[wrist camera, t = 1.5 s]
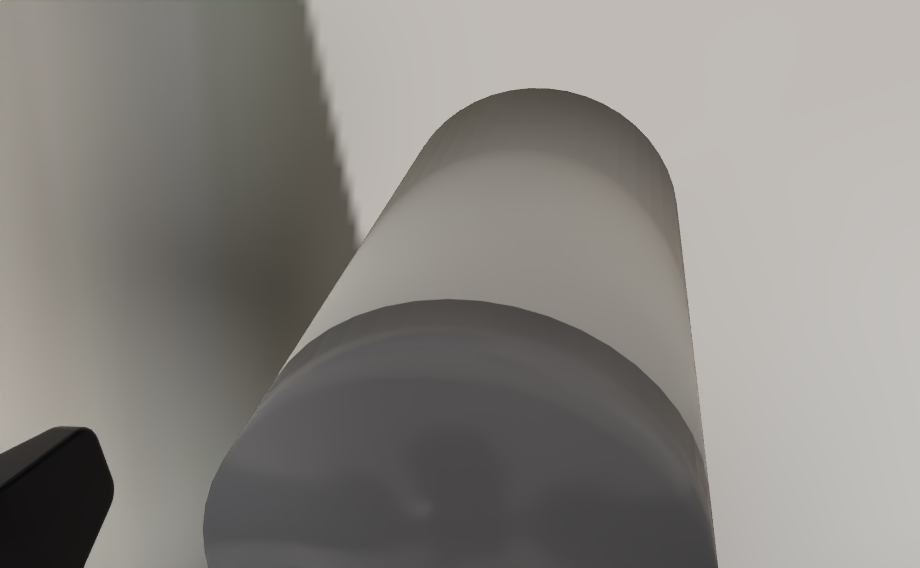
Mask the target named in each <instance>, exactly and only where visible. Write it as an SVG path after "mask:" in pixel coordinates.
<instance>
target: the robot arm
mask: <svg viewBox="0 0 920 568" xmlns="http://www.w3.org/2000/svg"><path fill="white" fill-rule="evenodd" d="M113 495H114V483H113V479H112V476H111V473H110V471H109V468H108V465H107V462H106V460H105V457H104V454H103V451H102V449H101V446H100V443H99V440H98V438H97V436H96V434H95V433H94V432H93V431H92V430H91V429H89V428H86V427H68V426H60V427H54V428H52V429H49V430H47V431H45V432H43V433H41V434H39V435H37V436H35V437H33V438H31V439H29V440H27V441H25V442H23V443H21V444H19V445H17V446H15V447H13V448H11V449H9V450H7V451H5V452H3V453H1V454H0V568H84V565H85V563H86V561H87V558H88V556H89V554H90V552H91V549H92V547H93V545H94V543H95V540H96V538H97V536H98V533H99V531H100V529H101V527H102V524H103V522H104V520H105V517H106V515H107V513H108V511H109V508H110V506H111V503H112V500H113Z"/></svg>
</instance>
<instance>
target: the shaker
mask: <svg viewBox="0 0 920 568" xmlns="http://www.w3.org/2000/svg"><path fill="white" fill-rule="evenodd" d="M203 534H204V547H205V555H206V559H207V563H208V567H209V568H718V563H717V555H716V546H715V538H714V528H713V519H712V510H711V502H710V494H709V485H708V476H707V467H706V458H705V449H704V440H703V431H702V424H701V414H700V405H699V397H698V387H697V379H696V370H695V361H694V353H693V343H692V335H691V326H690V317H689V309H688V300H687V291H686V282H685V274H684V264H683V256H682V247H681V238H680V230H679V221H678V212H677V203H676V199H675V193H674V188H673V184H672V182H671V179H670V176H669V173H668V170H667V168H666V166H665V165H664V163H663V161H662V159H661V157H660V155H659V153H658V152H657V151H656V149H655V148H654V146H653V145H652V144H651V143H650V141H649V140H648V138H647V137H646V136H645V135H644V134H643V133H642V132H641V131H640V130H639V129H638V128H637V127H636V126H635V125H634V124H633V123H631V122H630V121H629V120H627V119H626V118H625V117H623V116H622V115H621V114H620V113H618V112H616V111H615V110H613V109H611V108H610V107H608V106H606V105H604V104H602V103H600V102H598V101H595V100H593V99H591V98H588V97H586V96H582V95H578V94H575V93H571V92H568V91H561V90H554V89H536V88H531V89H530V88H528V89H520V90H512V91H507V92H503V93H499V94H495V95H491V96H489V97H486V98H484V99H481V100H479V101H477V102H474V103H473V104H471V105H469V106H467V107H466V108H464V109H462V110H460V111H459V112H457V113H456V114H455V115H453V116H452V117H451V118H450V119H448V120H447V121H446V122H445V123H444V124H443V125H442V126H441V127H440V128H439V129H438V130H437V131H436V132H435V133H434V134H433V135H432V136H431V138H430V139H429V141H428V142H427V143H426V145H425V146H424V147H423V149H422V150H421V152H420V153H419V155H418V157H417V158H416V160H415V161H414V163H413V165H412V166H411V168H410V169H409V171H408V173H407V174H406V176H405V177H404V178H403V180H402V182H401V183H400V185H399V186H398V188H397V190H396V191H395V193H394V194H393V196H392V197H391V199H390V200H389V202H388V204H387V205H386V207H385V208H384V210H383V211H382V213H381V215H380V216H379V218H378V219H377V221H376V222H375V224H374V225H373V227H372V229H371V230H370V232H369V233H368V235H367V236H366V238H365V239H364V241H363V243H362V244H361V246H360V247H359V249H358V250H357V252H356V254H355V255H354V257H353V258H352V260H351V261H350V263H349V264H348V266H347V268H346V269H345V271H344V272H343V274H342V275H341V277H340V279H339V280H338V282H337V283H336V285H335V286H334V288H333V290H332V291H331V293H330V294H329V296H328V297H327V299H326V300H325V302H324V304H323V305H322V307H321V308H320V310H319V311H318V313H317V315H316V316H315V318H314V319H313V321H312V322H311V324H310V325H309V327H308V329H307V330H306V332H305V333H304V335H303V336H302V338H301V340H300V341H299V343H298V344H297V346H296V347H295V349H294V351H293V352H292V354H291V355H290V357H289V358H288V360H287V361H286V363H285V365H284V366H283V368H282V369H281V371H280V372H279V374H278V376H277V377H276V379H275V380H274V382H273V383H272V385H271V386H270V388H269V390H268V391H267V393H266V394H265V396H264V397H263V399H262V401H261V402H260V404H259V405H258V407H257V408H256V410H255V412H254V413H253V415H252V416H251V418H250V419H249V421H248V422H247V424H246V426H245V427H244V429H243V430H242V432H241V433H240V435H239V437H238V438H237V440H236V441H235V443H234V444H233V446H232V447H231V449H230V451H229V452H228V454H227V455H226V457H225V458H224V460H223V462H222V464H221V466H220V468H219V470H218V472H217V474H216V476H215V478H214V479H213V481H212V484H211V488H210V491H209V495H208V498H207V501H206V505H205V514H204V524H203Z"/></svg>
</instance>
